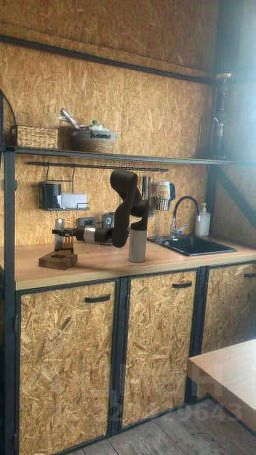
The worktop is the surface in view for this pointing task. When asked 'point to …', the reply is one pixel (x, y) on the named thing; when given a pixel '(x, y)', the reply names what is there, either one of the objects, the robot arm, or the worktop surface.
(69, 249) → the ammunition clip
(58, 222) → the steel pin
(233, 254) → the worktop surface
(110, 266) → the worktop surface
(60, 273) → the worktop surface
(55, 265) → the walnut socket block
